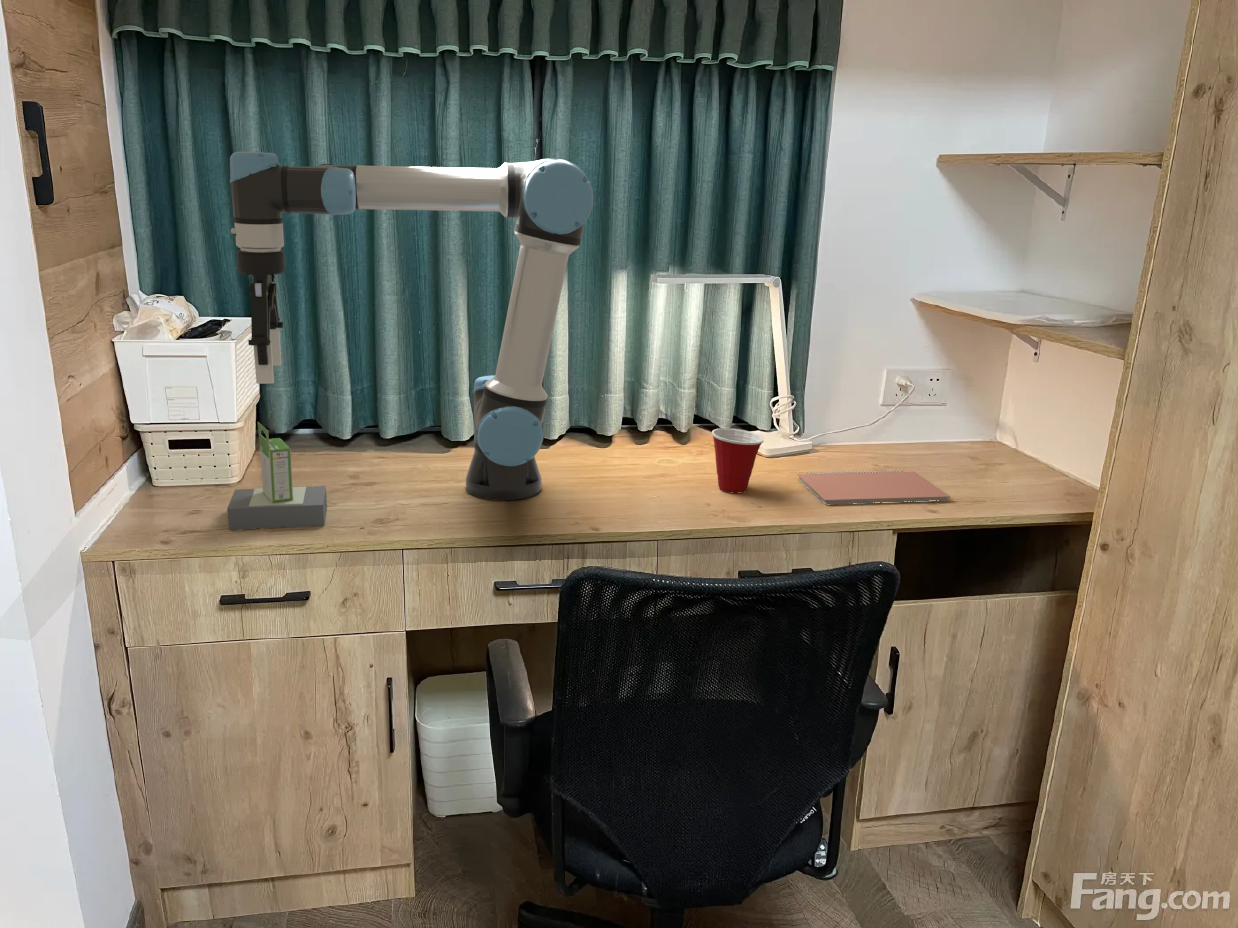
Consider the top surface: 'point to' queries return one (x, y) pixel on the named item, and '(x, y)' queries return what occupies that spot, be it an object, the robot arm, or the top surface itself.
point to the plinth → (277, 509)
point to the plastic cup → (735, 457)
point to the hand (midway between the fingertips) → (269, 374)
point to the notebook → (871, 487)
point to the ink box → (275, 467)
